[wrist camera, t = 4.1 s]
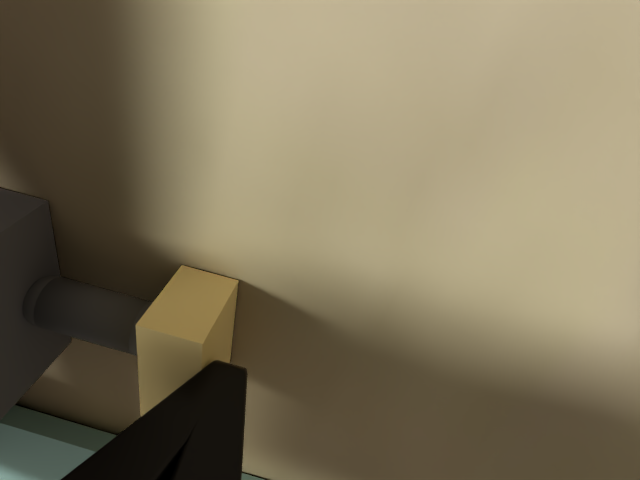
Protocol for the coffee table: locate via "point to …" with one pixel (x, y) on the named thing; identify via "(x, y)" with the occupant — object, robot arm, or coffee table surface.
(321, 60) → the coffee table surface
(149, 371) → the plug
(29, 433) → the mat
